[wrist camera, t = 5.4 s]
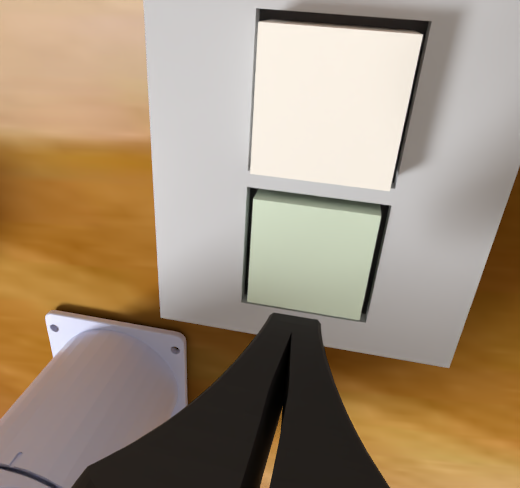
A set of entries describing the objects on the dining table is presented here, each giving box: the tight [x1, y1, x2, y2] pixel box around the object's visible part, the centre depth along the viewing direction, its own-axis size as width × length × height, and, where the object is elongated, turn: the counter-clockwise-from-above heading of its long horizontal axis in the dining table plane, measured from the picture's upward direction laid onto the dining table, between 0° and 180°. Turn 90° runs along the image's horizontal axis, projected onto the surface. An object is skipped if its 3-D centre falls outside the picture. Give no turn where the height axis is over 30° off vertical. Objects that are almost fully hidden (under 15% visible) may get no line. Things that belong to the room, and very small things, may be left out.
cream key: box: [250, 19, 423, 191], centre depth 14 cm, size 4×4×2 cm
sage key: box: [247, 188, 381, 320], centre depth 18 cm, size 4×4×2 cm
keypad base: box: [143, 0, 520, 368], centre depth 16 cm, size 19×12×3 cm, turn 177°
